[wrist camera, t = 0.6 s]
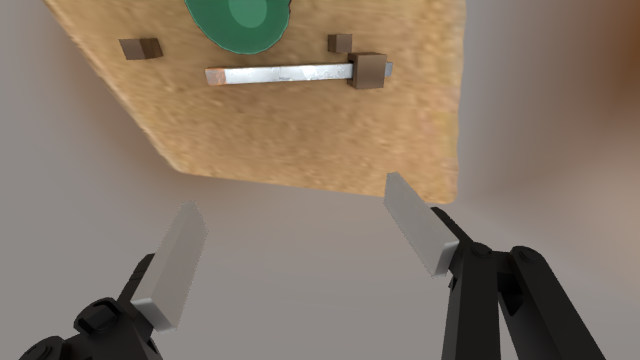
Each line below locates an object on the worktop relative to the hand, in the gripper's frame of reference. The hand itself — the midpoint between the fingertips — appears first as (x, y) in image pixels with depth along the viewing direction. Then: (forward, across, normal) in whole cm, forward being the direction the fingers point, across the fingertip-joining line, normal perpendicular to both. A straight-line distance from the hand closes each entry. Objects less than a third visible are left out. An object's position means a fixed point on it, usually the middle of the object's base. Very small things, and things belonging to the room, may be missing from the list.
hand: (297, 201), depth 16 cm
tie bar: (+25, -6, +5) cm, 26 cm away
